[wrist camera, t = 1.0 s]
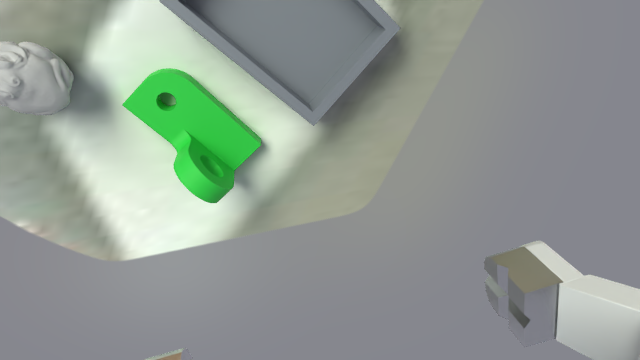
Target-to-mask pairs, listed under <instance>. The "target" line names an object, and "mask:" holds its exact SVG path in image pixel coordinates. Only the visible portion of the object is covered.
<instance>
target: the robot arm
mask: <svg viewBox="0 0 640 360" xmlns="http://www.w3.org/2000/svg"><path fill="white" fill-rule="evenodd" d="M484 269H485V270H486V271H487V273H488V274H489V277H488V278H487V280H486V282H485V286H486V293H487V296H488V299H489V302H490V303H491V305H492V307H493V309H494V310H495V311H496V313H497V314H498V315H499V316H501V317H503V318H505V319H508V320H509V329H510V330H511V332H512V333H513V334H514V335H515V336H516V338H517V339H518V340H519V341H520V343H521V344H522V345H523V346H524V347H528V346H531V345H535V344H538V343H542V342H545V341H549V340H552V339H556V340H557V341H559V342H561V343H563V344H564V345H566V346H568V347H570V348H572V349H574V350H576V351H578V352H580V353H581V354H584V355H585V356H587V357H589V358H591V359H593V360H640V289H636V288H633V287H630V286H626V285H623V284H620V283H617V282H613V281H610V280H606V279H603V278H600V277H596V276H593V275H587V276H583V275H582V274H581V273H580V272H579V271H578V270H576V269H575V268H574V267H573V266H571V265H570V264H569V263H568V262H567V261H565V260H564V259H563V258H562V257H561V256H559V255H558V254H557V253H556V252H554V251H553V250H552V249H551V248H550V247H548V246H547V245H546V244H545V243H544V242H542V241H535V242H532V243H529V244H525V245H522V246H520V247H516V248H514V249H510V250H507V251H504V252H500V253H497V254H494V255H491V256H488V257H486V258H485V261H484ZM192 359H193V358H192V356H191V354H190V352H189V350H188V349H186V348H183V349H180V350H176V351H172V352H169V353H166V354H161V355H158V356H154V357H151V358H147V359H145V360H192Z"/></svg>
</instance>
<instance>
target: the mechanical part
mask: <svg viewBox="0 0 640 360" xmlns="http://www.w3.org/2000/svg"><path fill="white" fill-rule="evenodd" d="M164 92H167V93H170V94H172V95H173V96H174V97H175V99H176V104H175V105H172V106H169V105H166V104H164V103H163V102H162V101H161V99H160V94H161V93H164ZM123 106H124V107H125V108H127V109H128V110H129V111H130V112H132V113H133V114H134V115H135V116H137V117H138V118H139V119H141V120H142V121H143V122H144V123H146V124H147V125H148V126H149V127H151V128H152V129H153V130H155V131H156V132H157V133H158V134H160V135H161V136H162V137H163V138H165V139H166V140H167V141H168V142H170V143H171V144H172V145H173V146H174V147H175V149H176V150H177V156H176V159H175V162H174V170H175V172H176V175H177V176H178V178H179V179H180V181H181V182H182V183H183V185H184V186H185V187H186V188H187V189H188V190H189V191H190V192H192V193H193V194H194V195H195V196H197V197H198V198H200V199H202V200H204V201H206V202H209V203H217V202H218V201H219V200H220V199H221V198H222V197H223V196H224V195H226V194H227V193H228V192H229V191H230V190H231V189H232V188H233V186H234V171H235V170H236V169H237V168H238V167H239V166H240V165H241V164H242V163H243V162H244V161H245V160H246V159H247V158H248V157H249V156H250V155H251V154H252V153H253V152H254V151H255V150H256V149H257V148H259V147H260V146H261V138H260V137H259V136H257V135H256V134H255V133H254V132H253V131H252V130H251V129H250V128H248V127H247V126H246V125H245V124H244V123H243V122H242V121H241V120H240V119H238V118H237V117H236V116H235V115H234V114H233V113H232V112H231V111H229V110H228V109H227V108H226V107H225V106H224V105H223V104H222V103H221V102H219V101H218V100H217V99H216V98H215V97H214V96H213V95H212V94H210V93H209V92H208V91H207V90H206V89H205V88H204V87H203V86H202V85H200V84H199V83H198V82H197V81H196V80H195V79H194V78H193V77H191V76H190V75H188V74H187V73H185V72H183V71H180V70H177V69H161V70H158V71H155V72H154V73H152V74H150V75H149V76H148V77H147V78H146V79H145V80H144V81H143V83H142V84H141V85H140V86H139V87H138V88H137V89H136V90H135V91H134V92H133V93H132V95H131V96H130V97H129V98H128V99H127V100H126V101H125V102H124V103H123Z"/></svg>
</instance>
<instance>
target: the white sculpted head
mask: <svg viewBox="0 0 640 360" xmlns="http://www.w3.org/2000/svg"><path fill="white" fill-rule="evenodd" d="M73 78H74V76H73V73H72V72H71V71H70V69H69V68H68V66H67V65H66V64H65V62H64V61H63V60H62V59H61V58H60V57H58V56H57V55H55V54H54V53H52V52H51V51H50V50H49V49H48V48H46V47H42V46H40V45H38V44H35V43H32V42H21V43H19V44H18V45H17V44H16V43H15V42H7V41H4V42H0V105H2V106H8V107H9V108H10V109H12V110H14V111H17V112H19V113H25V114H34V115H52V114H55V113H57V112H58V111H60V110H62V109H64V108H65V107H66V106H68V105H69V104H70V94H69V93H70V90H71V87H72V83H73Z"/></svg>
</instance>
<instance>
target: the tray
mask: <svg viewBox="0 0 640 360" xmlns="http://www.w3.org/2000/svg"><path fill="white" fill-rule="evenodd" d="M160 2H161V3H162V4H163V5H164V6H166V7H167V8H168V9H169V10H171V11H172V12H173V13H174V14H176V15H177V16H178V17H179V18H181V19H182V20H183V21H184V22H186V23H187V24H188V25H189V26H191V27H192V28H193V29H194V30H195V31H197V32H198V33H199V34H200V35H202V36H203V37H204V38H205V39H207V40H208V41H209V42H210V43H212V44H213V45H214V46H215V47H217V48H218V49H219V50H220V51H221V52H223V53H224V54H225V55H226V56H228V57H229V58H230V59H231V60H233V61H234V62H235V63H236V64H238V65H239V66H240V67H241V68H243V69H244V70H245V71H246V72H247V73H249V74H250V75H251V76H252V77H254V78H255V79H256V80H257V81H259V82H260V83H261V84H262V85H264V86H265V87H266V88H267V89H269V90H270V91H271V92H272V93H273V94H275V95H276V96H277V97H278V98H280V99H281V100H282V101H283V102H285V103H286V104H287V105H288V106H290V107H291V108H292V109H293V110H295V111H296V112H297V113H298V114H300V115H301V116H302V117H303V118H304V119H306V120H307V121H308V122H309V123H311V124H312V125H313V126H314V125H315V124H316V123H317V122H318V121H319V120H320V118H321V117H322V116H323V115H324V114H325V113H326V112H327V111H328V109H329V108H330V107H331V106H332V105H333V104H334V103H335V102H336V100H337V99H338V98H339V97H340V96H341V95H342V94H343V92H344V91H345V90H346V89H347V88H348V87H349V86H350V85H351V83H352V82H353V81H354V80H355V79H356V78H357V77H358V76H359V74H360V73H361V72H362V71H363V70H364V69H365V68H366V67H367V65H368V64H369V63H370V62H371V61H372V60H373V59H374V57H375V56H376V55H377V54H378V53H379V52H380V51H381V50H382V48H383V47H384V46H385V45H386V44H387V43H388V42H389V41H390V39H391V38H392V37H393V36H394V35H395V34H396V33H397V32H398V30H399V29H400V27H399V26H398V25H397V24H396V23H395V22H394V21H393V20H392V19H391V17H390V16H389V15H388V14H387V13H386V12H385V11H384V10H383V9H382V8H381V7H380V6H379V5H378V4H377V3H376V2H375V1H374V0H160Z"/></svg>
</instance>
